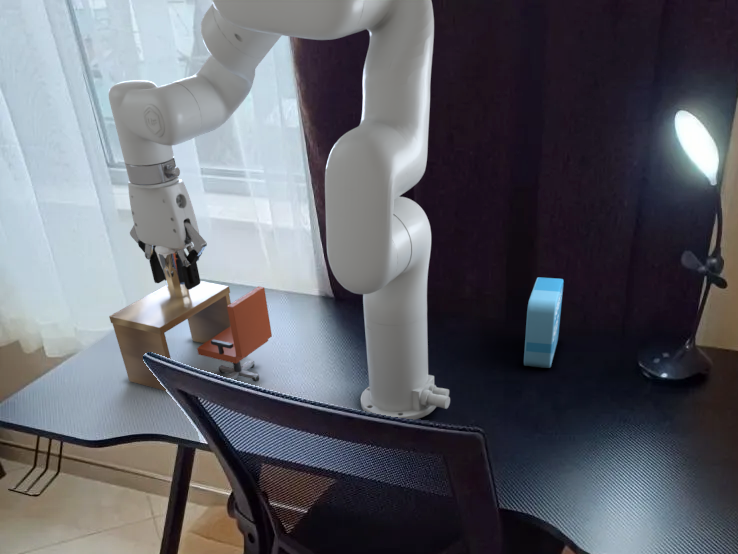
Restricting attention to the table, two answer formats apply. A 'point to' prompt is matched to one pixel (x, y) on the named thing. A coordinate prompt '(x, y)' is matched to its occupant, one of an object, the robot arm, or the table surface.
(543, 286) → the data package
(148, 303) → the desk
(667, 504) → the table surface
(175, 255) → the milkshake
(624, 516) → the table surface
